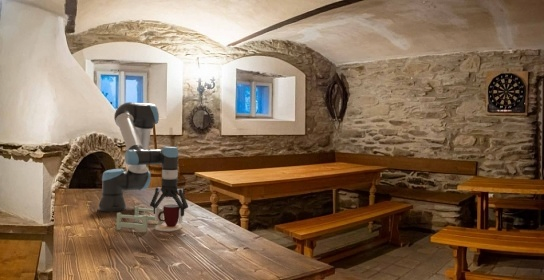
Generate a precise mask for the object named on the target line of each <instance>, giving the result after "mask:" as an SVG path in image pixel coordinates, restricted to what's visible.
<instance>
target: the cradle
mask: <svg viewBox="0 0 544 280" xmlns="http://www.w3.org/2000/svg"><path fill="white" fill-rule="evenodd" d="M140 211H141V212H151V213H154V208H145V207H140V206H139V205H135V206H134V215H130V214H122V212H116V231H121V230H122V228H128V229H130V228H131V229H141V230H142V231H141V232H142V233H147V232H148V221H153V222H156V221H155V215H148V214H143V215H142V214H140ZM161 211H163V207H159V213H160V212H161ZM122 219H131V220H132V219H133V220H134V223H133V222H126V221H125V222H122ZM160 219H161V220H164V214H163V213H162V214H161V215H160ZM139 220H141V221H142V223H138V222H139ZM157 222H158V224H163V221H160V220H158V221H157Z"/></svg>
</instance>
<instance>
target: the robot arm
mask: <svg viewBox="0 0 544 280" xmlns="http://www.w3.org/2000/svg"><path fill="white" fill-rule="evenodd" d="M114 112H115V113H114V121H115V125H116V126H117V127H118V128H119V131H120V133H121V136H122V139H123V141H124V145H125V147H126V151H125V153H124V159H125V161H124V162H125V164H126V165H128V167H127V170H124V169H123V168H113V169H108V170H104V172H103V173H102V177H101V182H102V183H101V184H102V185H101V197H100V201H99V204H98V211H100V212H106V213H108V212H109V213H111V212H122V211H125V210H126V209H127V203H126V200H125V197H124V192H125V191H126V192H127V191H142V190H146V189H148V187H149V186H150V183H151V180H152V179H151V178H152V177H151V176H152V175H151V172H150V170H149V168H148V167H147V165H148V166H149V165H161V177H162V179H161V187H160V186H158V187H155V189H154V190H155V192H154V194H153V197H152V199H151V201H150V204H149V206H150V207H151V208H152V207H153V208H152V209H154V212H153V215H154V216H155V221H154V222H159V221H158V220H159V219H158V214H159V208H160V204H161V203H162V201H163V199H165V198H172V199H173V200H174V202H175V203H176V205H178V206H179V207H180V210H179V219H178V224H181V223H183V217H184V216H185V210H186V209H188V208H189V204H188V203H187V202H188V201H187V199H186V197H185V194H184V189H183V188H178V177H179V176H178V175H179V174H178V173H179V172H178V170H179V169H178V167H179V165H178V164H179V148H178V147H177V146H163V147H162V148H158V149H149V146H150V137H151V132H152V129H154V128H155V125H157V124H158V123H159V120H160V116H159V115H160V113H159V109H158V108H157V105H156V104H155V103H148V102H124V103H122V104H121V105H120V106H119V107H118V108H117V109H116V111H114ZM160 192H162V193H161V195H160ZM159 195H160V197H159ZM178 195H179V196H178ZM158 197H159V198H158Z"/></svg>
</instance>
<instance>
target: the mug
mask: <svg viewBox="0 0 544 280" xmlns="http://www.w3.org/2000/svg"><path fill="white" fill-rule="evenodd" d="M162 208H163V211H161V212H160V213H159V214H158V219H159V220H160V221H163V222H164V223H166V225H167V226H168V227H174V226H176V224H178V223H179V210H180V207H179V206H178V204H177V203H176V204H173V203H172V204H165V205H163V207H162ZM162 213H163V220H161V219H160V215H161V214H162Z"/></svg>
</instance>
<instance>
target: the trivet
mask: <svg viewBox="0 0 544 280" xmlns="http://www.w3.org/2000/svg"><path fill="white" fill-rule="evenodd" d="M154 229H155V230H156V231H159V232H175V231H179V230H182V229H183V225H182V224H181V223H177V224H176V226H174V227H168V226H167V225H166V223H165V222H164V223H163V224H159V223H158V224H156V225H155V226H154Z"/></svg>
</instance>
